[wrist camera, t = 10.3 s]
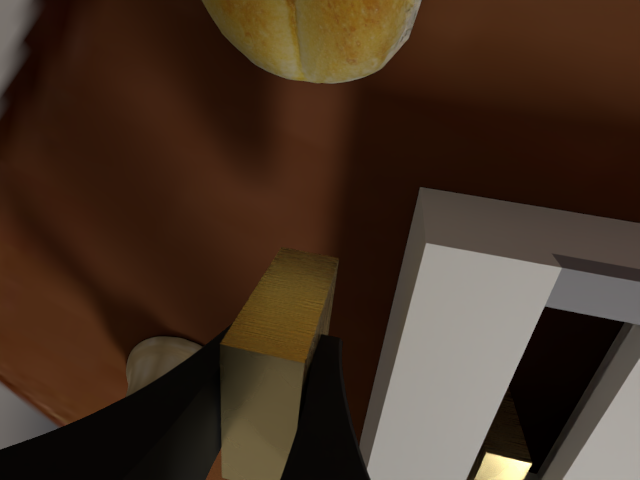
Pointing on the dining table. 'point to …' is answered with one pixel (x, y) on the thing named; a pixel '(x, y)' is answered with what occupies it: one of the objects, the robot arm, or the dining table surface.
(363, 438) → the box
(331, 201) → the dining table surface
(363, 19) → the bread roll
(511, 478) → the block
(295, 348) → the block
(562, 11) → the dining table surface
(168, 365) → the hand bell
